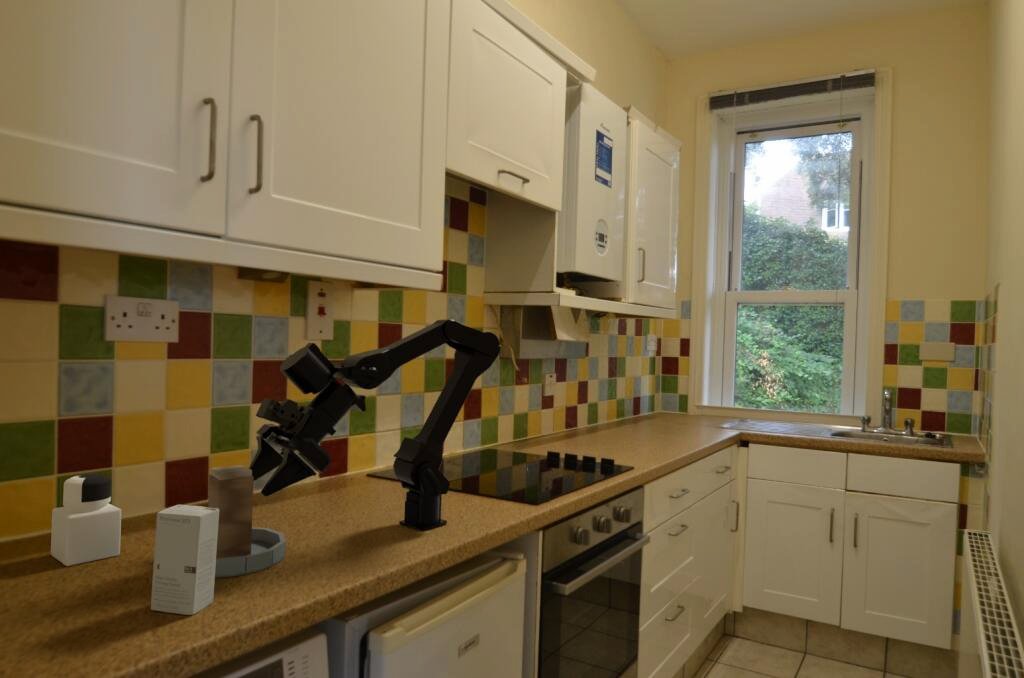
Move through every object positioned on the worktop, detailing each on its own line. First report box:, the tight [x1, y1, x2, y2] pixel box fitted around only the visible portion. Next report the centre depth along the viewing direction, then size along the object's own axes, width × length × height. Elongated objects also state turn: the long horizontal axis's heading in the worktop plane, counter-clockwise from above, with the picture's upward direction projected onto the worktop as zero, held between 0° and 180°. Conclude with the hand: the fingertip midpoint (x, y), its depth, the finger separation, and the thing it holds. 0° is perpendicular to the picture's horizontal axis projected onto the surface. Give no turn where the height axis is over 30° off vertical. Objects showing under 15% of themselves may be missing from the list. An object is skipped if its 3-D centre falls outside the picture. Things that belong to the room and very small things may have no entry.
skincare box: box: [150, 504, 219, 616], centre depth 81 cm, size 6×4×12 cm
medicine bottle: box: [50, 473, 122, 567], centre depth 98 cm, size 7×7×12 cm
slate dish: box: [215, 526, 287, 579], centre depth 98 cm, size 16×16×2 cm
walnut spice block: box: [207, 464, 255, 559], centre depth 99 cm, size 5×5×13 cm
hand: (253, 488), depth 101 cm, fingers open, 9 cm apart
